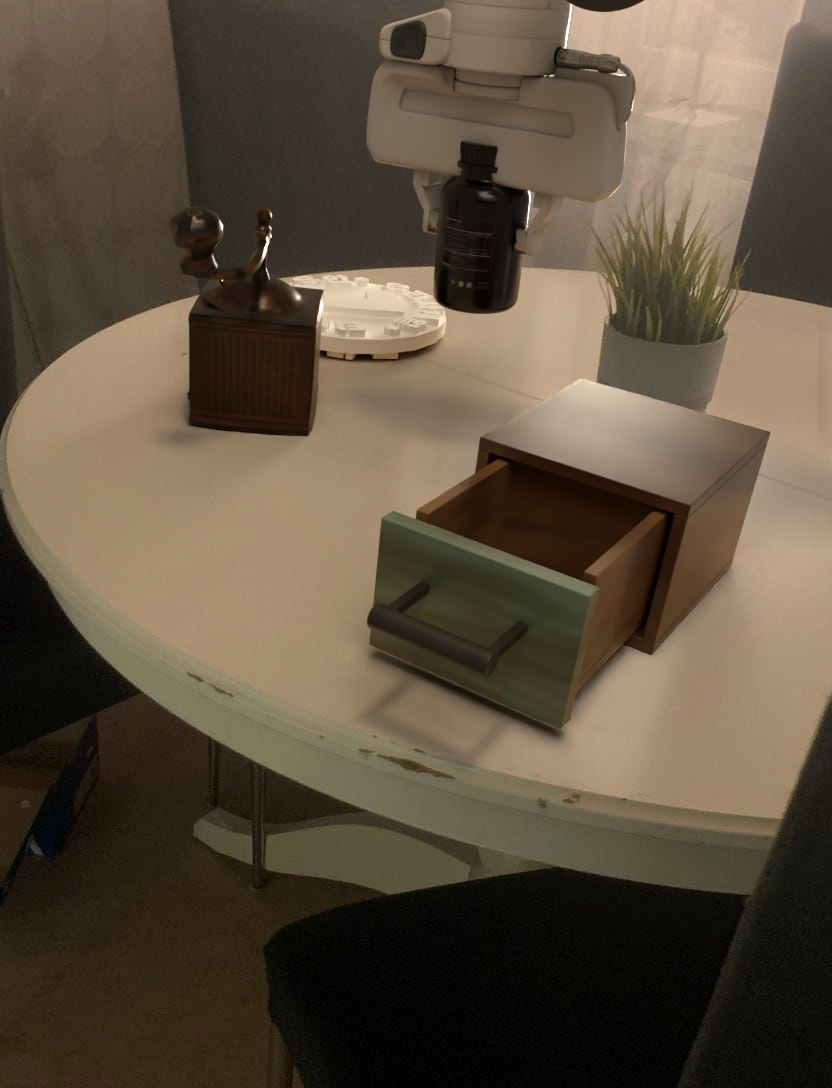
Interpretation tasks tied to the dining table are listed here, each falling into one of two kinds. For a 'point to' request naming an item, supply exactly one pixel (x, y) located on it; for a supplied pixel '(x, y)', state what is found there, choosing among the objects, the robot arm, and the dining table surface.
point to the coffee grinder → (248, 335)
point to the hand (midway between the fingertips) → (479, 242)
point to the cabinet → (647, 478)
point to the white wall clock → (374, 317)
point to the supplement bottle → (478, 237)
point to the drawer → (517, 584)
